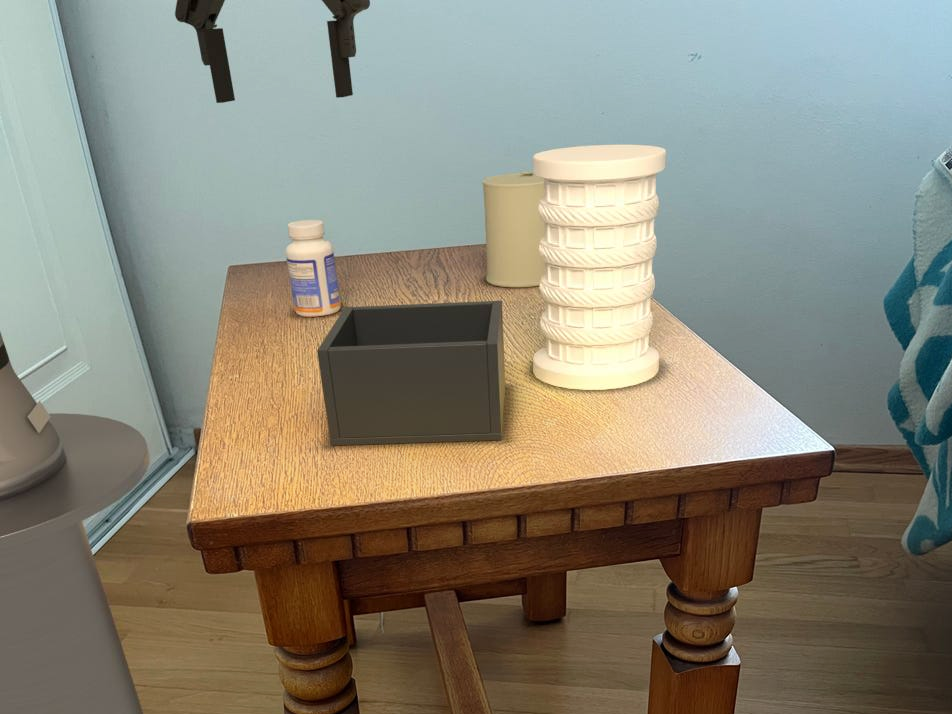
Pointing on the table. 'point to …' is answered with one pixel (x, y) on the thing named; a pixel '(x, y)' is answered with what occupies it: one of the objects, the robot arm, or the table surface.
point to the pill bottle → (312, 270)
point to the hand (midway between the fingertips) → (284, 99)
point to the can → (514, 229)
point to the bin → (414, 373)
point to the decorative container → (598, 265)
